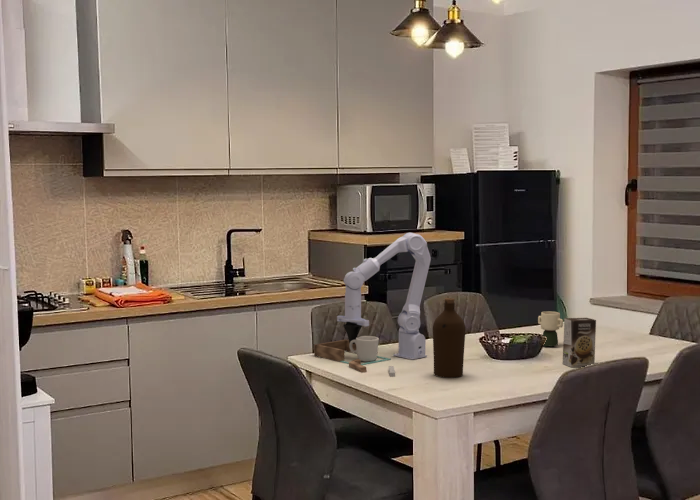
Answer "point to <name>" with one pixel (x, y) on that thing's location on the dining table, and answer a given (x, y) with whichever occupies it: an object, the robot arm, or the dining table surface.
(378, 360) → the bay
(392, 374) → the straight stick
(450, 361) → the olive oil
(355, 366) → the crook stick
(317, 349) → the cubby
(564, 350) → the cookie box
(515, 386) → the dining table surface
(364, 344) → the cup
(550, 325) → the beige and green trophy
